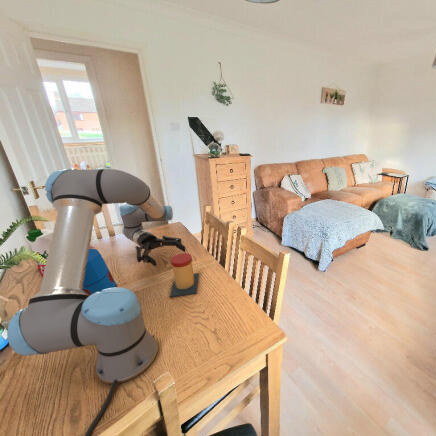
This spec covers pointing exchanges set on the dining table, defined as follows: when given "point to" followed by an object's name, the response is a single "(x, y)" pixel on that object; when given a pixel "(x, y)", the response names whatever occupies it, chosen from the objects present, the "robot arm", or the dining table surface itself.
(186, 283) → the jam jar
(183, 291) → the mat
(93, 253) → the thermos
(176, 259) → the jam lid
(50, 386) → the dining table surface
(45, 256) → the milk carton
